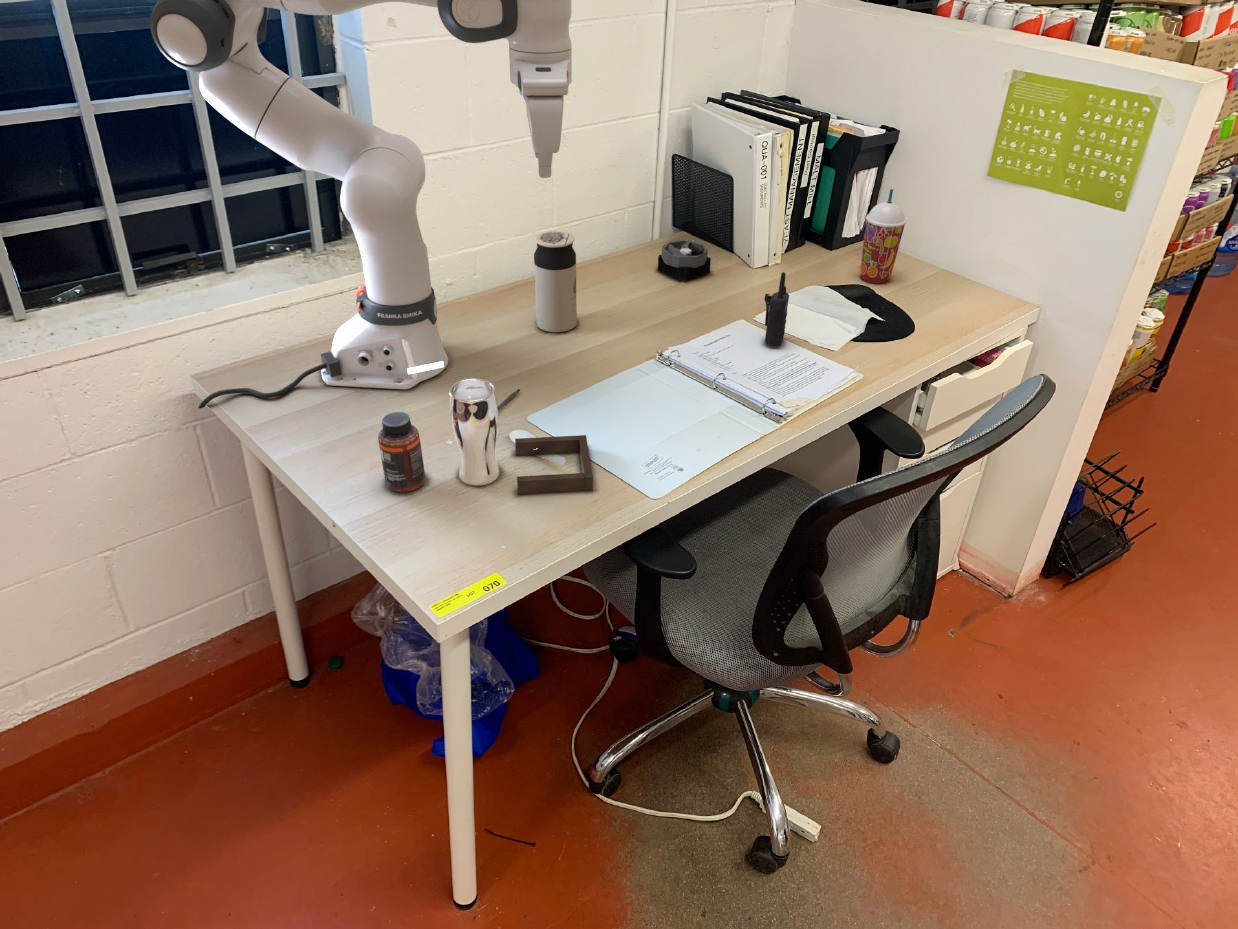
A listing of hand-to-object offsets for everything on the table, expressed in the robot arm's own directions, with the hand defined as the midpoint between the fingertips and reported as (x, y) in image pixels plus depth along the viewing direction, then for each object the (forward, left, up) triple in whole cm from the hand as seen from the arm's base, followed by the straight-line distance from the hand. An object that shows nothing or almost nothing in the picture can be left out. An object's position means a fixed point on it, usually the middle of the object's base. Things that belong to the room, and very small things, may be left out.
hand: (542, 166), depth 138 cm
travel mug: (+3, +25, -39) cm, 47 cm away
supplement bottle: (-23, -26, -39) cm, 52 cm away
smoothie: (+75, +42, -39) cm, 95 cm away
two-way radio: (+44, +14, -39) cm, 61 cm away
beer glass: (-12, -25, -39) cm, 48 cm away
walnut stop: (-1, -25, -39) cm, 46 cm away
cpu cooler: (+33, +49, -39) cm, 71 cm away
